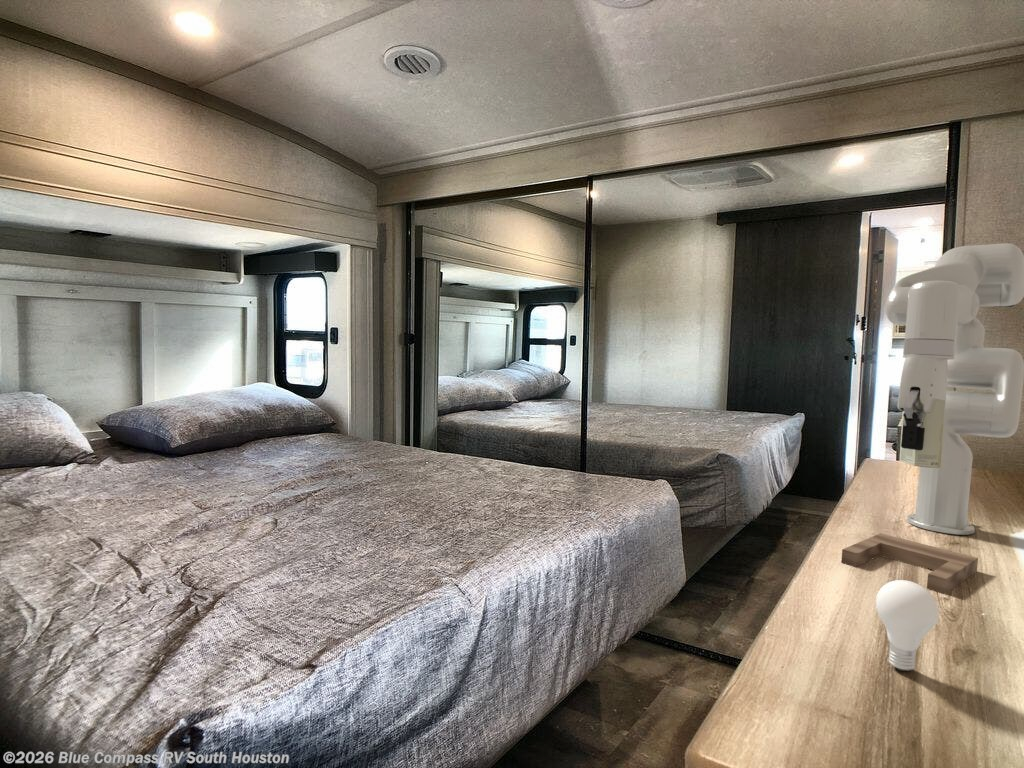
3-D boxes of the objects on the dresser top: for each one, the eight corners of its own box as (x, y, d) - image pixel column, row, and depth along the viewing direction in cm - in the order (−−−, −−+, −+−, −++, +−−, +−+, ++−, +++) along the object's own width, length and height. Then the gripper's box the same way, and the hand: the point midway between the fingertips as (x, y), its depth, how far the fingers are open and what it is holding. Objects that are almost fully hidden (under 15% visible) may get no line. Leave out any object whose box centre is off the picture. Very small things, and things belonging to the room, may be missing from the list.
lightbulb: (858, 655, 74) (865, 571, 73) (905, 655, 74) (912, 572, 73) (895, 684, 67) (904, 593, 67) (946, 684, 68) (954, 593, 67)
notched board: (879, 545, 118) (880, 533, 118) (976, 571, 106) (978, 557, 105) (841, 562, 107) (842, 549, 107) (944, 593, 95) (946, 579, 94)
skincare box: (941, 469, 101) (947, 400, 101) (913, 466, 102) (919, 398, 102) (923, 462, 108) (929, 398, 107) (896, 460, 108) (902, 396, 108)
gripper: (920, 352, 112) (912, 442, 113) (886, 347, 101) (877, 447, 102) (968, 353, 106) (959, 448, 107) (937, 348, 96) (927, 454, 96)
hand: (919, 447), depth 105 cm, fingers closed on skincare box, 7 cm apart
